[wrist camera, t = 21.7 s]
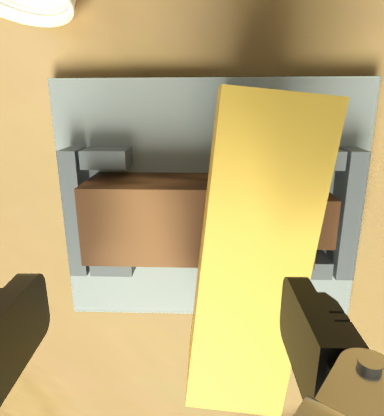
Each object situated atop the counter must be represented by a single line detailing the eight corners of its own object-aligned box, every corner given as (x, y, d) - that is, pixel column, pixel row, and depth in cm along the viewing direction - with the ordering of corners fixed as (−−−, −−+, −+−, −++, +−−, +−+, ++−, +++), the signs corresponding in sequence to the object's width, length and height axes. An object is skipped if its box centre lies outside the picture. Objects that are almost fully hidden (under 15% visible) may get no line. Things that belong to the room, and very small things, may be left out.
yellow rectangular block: (190, 339, 24) (185, 406, 19) (218, 87, 19) (221, 83, 14) (265, 347, 24) (280, 416, 19) (311, 96, 19) (349, 96, 14)
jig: (79, 303, 31) (50, 350, 25) (54, 78, 26) (10, 74, 20) (342, 308, 30) (373, 358, 24) (373, 76, 25) (422, 71, 19)
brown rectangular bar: (103, 236, 28) (81, 265, 23) (98, 172, 26) (73, 189, 22) (316, 239, 27) (339, 270, 22) (323, 173, 26) (349, 191, 21)
